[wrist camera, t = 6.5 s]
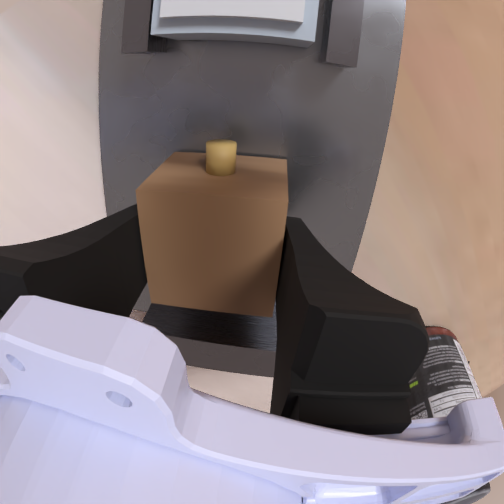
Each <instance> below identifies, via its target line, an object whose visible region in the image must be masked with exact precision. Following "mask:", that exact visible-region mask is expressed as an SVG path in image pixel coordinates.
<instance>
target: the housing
mask: <svg viewBox="0 0 504 504" xmlns="http://www.w3.org/2000/svg"><path fill="white" fill-rule="evenodd" d="M236 149H237V143H236V142H235V141H232V140H227V139H215V140H209V141H207V142H206V153H193V152H174V153H173V154H172V155H171V156H170V157H168V158H167V159H166V160H165V161H164V162H163V163H162V164H161V165H160V166H159V167H158V168H157V169H156V170H155V171H154V172H153V173H152V174H151V175H150V176H149V177H148V178H147V179H146V180H145V181H144V182H143V183H142V184H141V185H140V186H139V187H138V188H137V189H136V199H137V209H138V218H139V226H140V234H141V241H142V249H143V256H144V262H145V269H146V275H147V281H148V287H149V293H150V299H151V303H156V304H163V305H170V306H177V307H185V308H192V309H200V310H208V311H216V312H225V313H233V314H242V315H252V316H262V317H273V311H274V304H275V297H276V290H277V283H278V276H279V269H280V262H281V255H282V247H283V240H284V232H285V225H286V217H287V209H288V178H287V160H286V159H276V158H266V157H255V156H242V155H236Z"/></svg>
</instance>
